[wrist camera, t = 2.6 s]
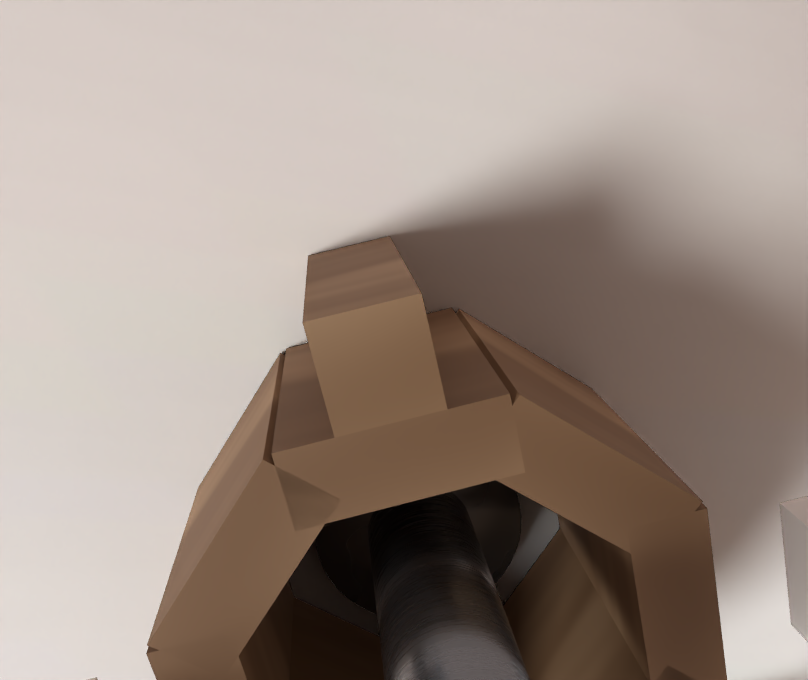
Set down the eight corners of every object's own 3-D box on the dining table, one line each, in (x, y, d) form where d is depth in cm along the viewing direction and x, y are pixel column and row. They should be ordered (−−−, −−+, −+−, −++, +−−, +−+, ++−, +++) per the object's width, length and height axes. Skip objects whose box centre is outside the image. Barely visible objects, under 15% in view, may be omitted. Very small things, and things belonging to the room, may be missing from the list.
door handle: (292, 449, 18) (264, 802, 9) (493, 399, 18) (670, 694, 9) (345, 626, 19) (367, 1084, 10) (529, 578, 19) (713, 986, 10)
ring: (129, 298, 16) (39, 386, 11) (563, 194, 17) (674, 231, 11) (275, 719, 20) (259, 937, 15) (631, 624, 20) (742, 805, 15)
